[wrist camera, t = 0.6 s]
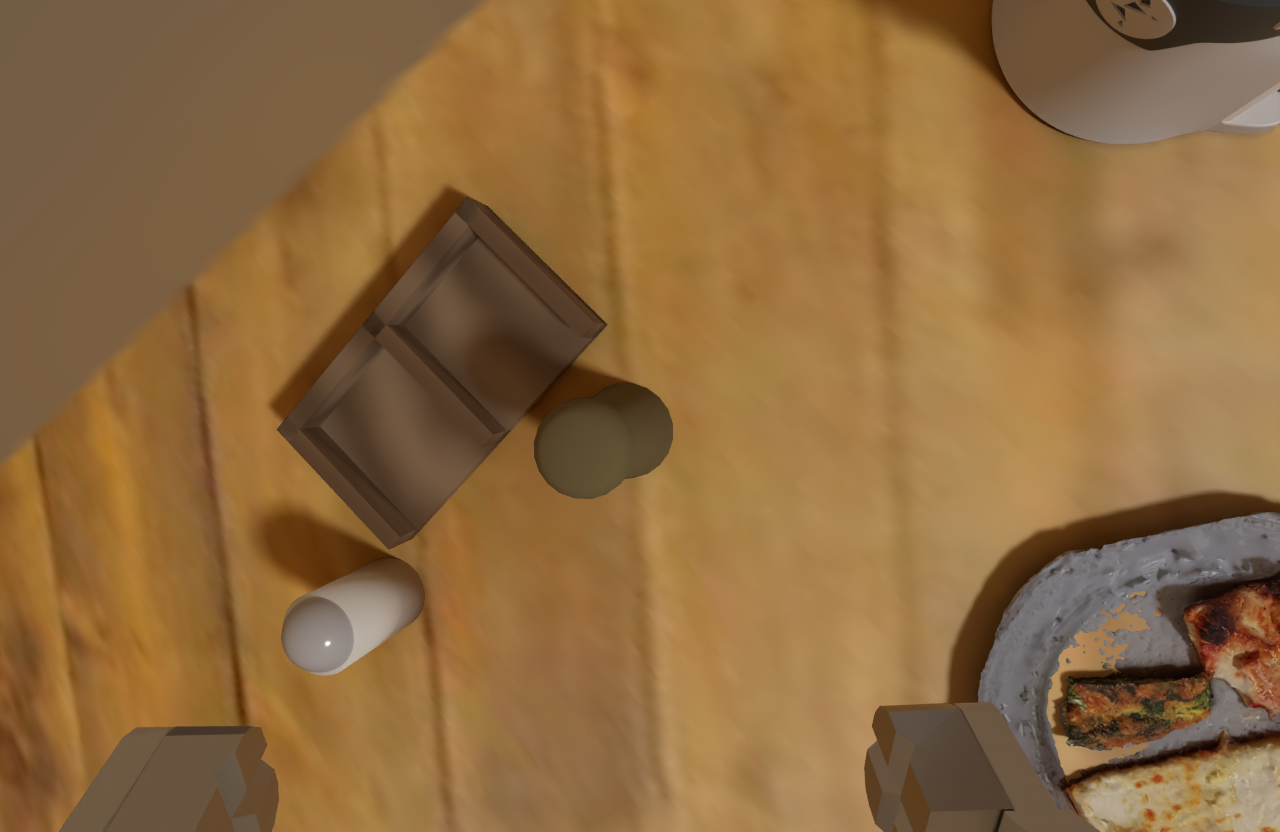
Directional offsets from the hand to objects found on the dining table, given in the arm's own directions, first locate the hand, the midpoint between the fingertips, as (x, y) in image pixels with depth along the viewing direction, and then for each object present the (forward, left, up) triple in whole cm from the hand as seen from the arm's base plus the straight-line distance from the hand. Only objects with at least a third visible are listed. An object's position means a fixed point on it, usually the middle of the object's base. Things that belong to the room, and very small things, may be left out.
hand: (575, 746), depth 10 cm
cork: (+5, -6, -38) cm, 39 cm away
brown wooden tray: (+11, -17, -38) cm, 43 cm away
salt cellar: (+26, -10, -38) cm, 47 cm away
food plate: (-7, +29, -38) cm, 48 cm away
